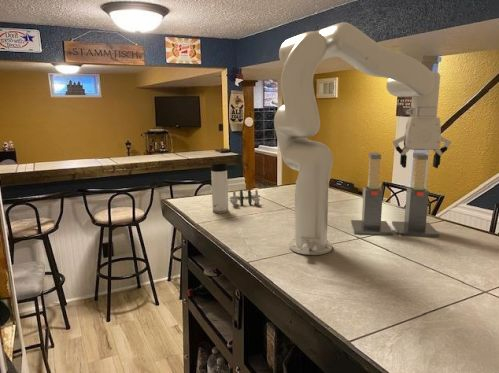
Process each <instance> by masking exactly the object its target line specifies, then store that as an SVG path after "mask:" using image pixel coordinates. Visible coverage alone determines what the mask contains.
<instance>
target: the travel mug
mask: <svg viewBox="0 0 499 373" xmlns="http://www.w3.org/2000/svg"><path fill="white" fill-rule="evenodd" d="M210 165H211V166H210V167H211V170H210V172H211V174H210V176H211V178H210V179H211V196H212V197H211V199H212V200H211V201H212V213H215V214H225V213H228V212H229V199H228V198H229V187H228V186H229V183H228V169H227V168H228V163H227V162H218V163H211V164H210Z"/></svg>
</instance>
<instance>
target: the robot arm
mask: <svg viewBox="0 0 499 373" xmlns="http://www.w3.org/2000/svg"><path fill="white" fill-rule="evenodd" d="M336 57H337V58H339V59H341V60H343V61H344V62H346V63H347V64H349V65H351V66H352V67H353V68H355V69H356V70H358V71H359V72H361V73H362V74H363V75H364V74H365V75H368V76H371V77H377V78H385V79H387V81H386V85H385V87H386V91H387V92H388V93H389V94H390V95H392V96H394V97H398V98H406V97H407V98H408V97H411V104H410V105H411V107H410V108H409V109H406V111H405V114H406V115H409V117H408V118H407V121H406V125H405V131H404V135H403V136H399V137H398V138H396V139H394V140H393V141H392V144H393V147H394V149H395V151H396V152H398V153H399V154H400V157H399V158H400V159H399V160H400V161H399V165H400V166H401V167H402V168H404V169H405V168H407V159H408V156H407V153H408V152H409V151H410V150H411V151H433V152H434V153H435V154H433V159H432V167H433V168H435V169H438V168H439V166H440V164H441V156H443V154H444V153H445V152H447V150H448V148H449V147H450V145H452V141H451V140H449V139H447V138H446V137H443V136H442V135H441V134H442V132H441V130H442V127H441V117H437V116H438V106H439V95H440V82H441V74H440V73H439V72H437V71H431V70H430V68H428V67H427V66H426V65H425V64H423V63H422V62H420V61H419V60H417V59H416V58H414V57H412V56H410V55H407V54H404V53H401V52H398V51H396V50H393V49H390V48H387V47H385V46H382V45H381V44H379V43H378V42H376V41H375V40H374V39H372V38H371V37H369V36H368V35H367V34H365V33H364V32H363V31H362V30H361V29H359V28H357V27H356V26H354V25H353V24H351V23H349V22H343V21H342V22H339V23H338V22H337V23H335V24H332V25H329V26H327V27H324V28H321V29H318V30H316V31H313V30H311V31H310V30H309V31H306V32H302V33H301V34H300V33H299V34H298V35H296V36H295V35H294V36H293V37H290V38H288V39H285V40H284V42H282V44H281V46H280V48H279V52H278V58H279V60H280V63H281V64H282V65H283V68H282V72H281V77H280V89H281V95H282V100H283V104H282V105H281V106H280V107H278V109H277V111H276V112H275V114H274V118H273V126H274V130H275V135H276V139H277V142H278V147H279V151H280V155H281V158H282V160H283V163H284V164H285V165H286V166H287V167H289V168H290V169H292V170H294V171H297V172H298V175H297V178H296V181H295V187H294V238H293V239H291V240H290V241H289V243H288V245H289V246H288V247H289V249H290V250H291V251H293V253H294V252H295V253H297V254H301V255H307V256H319V255H321V256H322V255H325V254H328V253H330V252H331V251H332V250H333V244H332V242H331V241H329V240H328V218H329V216H328V214H329V186H330V177H331V172H332V167H333V161H334V160H333V153H332V151H331V149H330V148H329V147H328V146H327V145H326V144H325V143H323V142H320V141H316V140H311V139H308V138H311V137H313V136H315V135H316V134H318V132H319V130H320V129H321V118H320V113H319V108H318V103H317V99H316V96H315V88H314V77H315V73H316V70H317V67H318V66H319V64H320V63H321V62H322V61H324V60H327V59H332V58H336ZM401 142H403V148H401V147H400V143H401ZM441 143H443V146H441Z"/></svg>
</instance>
